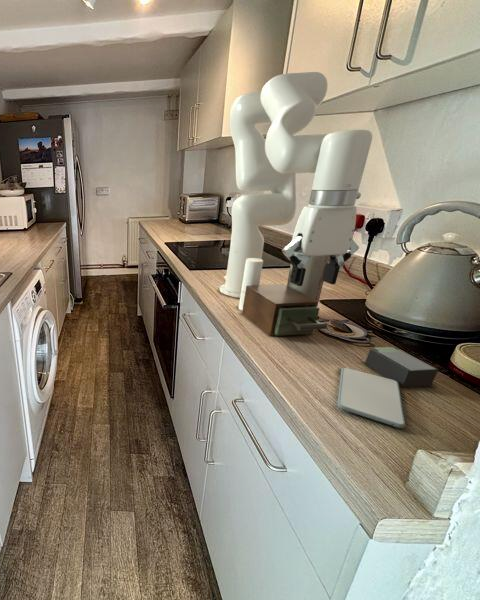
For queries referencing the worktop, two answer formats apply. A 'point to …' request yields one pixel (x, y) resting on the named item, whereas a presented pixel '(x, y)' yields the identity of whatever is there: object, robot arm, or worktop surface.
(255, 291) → the cabinet
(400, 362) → the gray rectangular block
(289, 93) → the robot arm
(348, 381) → the smartphone
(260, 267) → the tube
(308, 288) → the thermos bottle
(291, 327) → the drawer
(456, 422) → the worktop surface
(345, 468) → the worktop surface
